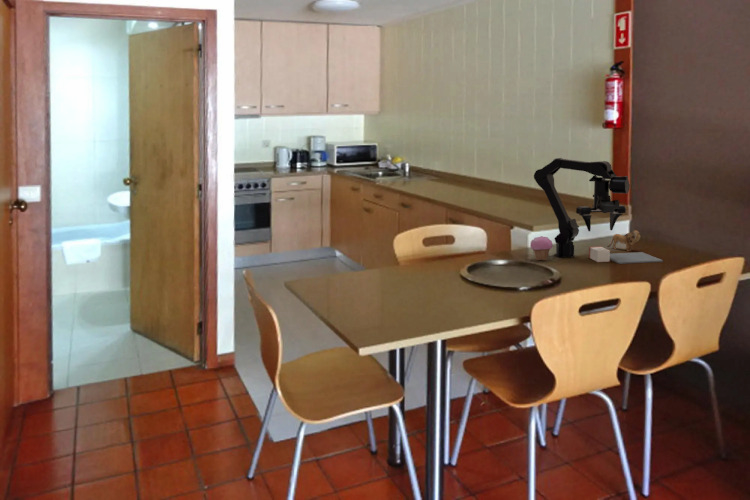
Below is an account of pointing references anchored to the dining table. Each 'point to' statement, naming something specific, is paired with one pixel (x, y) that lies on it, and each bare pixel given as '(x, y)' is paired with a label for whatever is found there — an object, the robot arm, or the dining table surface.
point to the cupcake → (541, 247)
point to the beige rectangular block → (599, 254)
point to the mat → (633, 258)
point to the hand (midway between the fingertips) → (600, 230)
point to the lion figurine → (626, 239)
